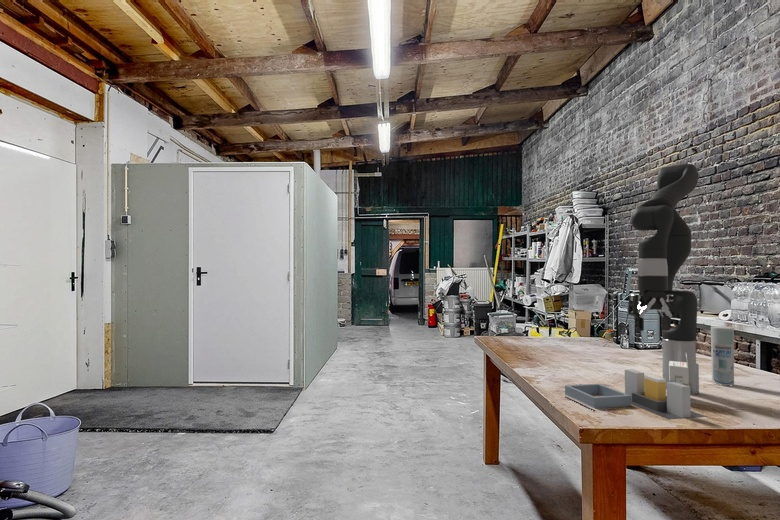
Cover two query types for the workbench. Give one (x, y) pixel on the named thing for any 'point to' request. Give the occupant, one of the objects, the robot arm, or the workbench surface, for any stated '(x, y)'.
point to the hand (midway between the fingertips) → (652, 330)
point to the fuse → (655, 387)
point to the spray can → (722, 355)
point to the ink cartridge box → (679, 372)
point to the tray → (607, 400)
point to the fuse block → (670, 408)
